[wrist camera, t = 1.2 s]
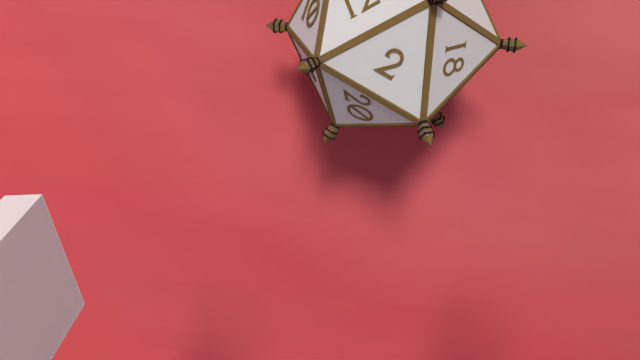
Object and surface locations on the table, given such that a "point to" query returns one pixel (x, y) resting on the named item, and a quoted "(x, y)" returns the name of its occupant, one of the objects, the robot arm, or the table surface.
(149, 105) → the table surface
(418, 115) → the game die
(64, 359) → the table surface
